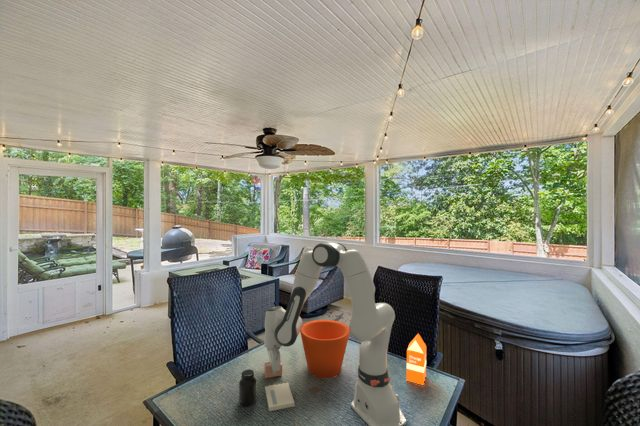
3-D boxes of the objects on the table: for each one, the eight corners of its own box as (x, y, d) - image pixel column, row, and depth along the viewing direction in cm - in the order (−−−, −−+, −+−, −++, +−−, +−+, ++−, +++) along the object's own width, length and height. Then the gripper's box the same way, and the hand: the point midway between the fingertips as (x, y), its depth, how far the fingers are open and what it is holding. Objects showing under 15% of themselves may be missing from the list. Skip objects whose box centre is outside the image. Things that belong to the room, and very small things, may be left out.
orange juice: (406, 381, 128) (406, 338, 128) (409, 372, 135) (409, 331, 136) (424, 386, 124) (424, 341, 124) (426, 376, 132) (426, 334, 132)
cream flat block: (294, 406, 110) (294, 402, 110) (269, 411, 107) (269, 407, 107) (287, 385, 123) (287, 381, 123) (265, 389, 120) (265, 385, 120)
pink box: (282, 375, 131) (282, 364, 131) (265, 378, 128) (265, 367, 128) (280, 370, 135) (281, 360, 135) (264, 373, 132) (264, 362, 132)
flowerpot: (349, 357, 148) (349, 320, 148) (349, 386, 123) (350, 342, 124) (303, 354, 151) (304, 318, 151) (294, 382, 126) (295, 338, 126)
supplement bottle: (249, 394, 117) (249, 366, 117) (259, 401, 113) (260, 371, 113) (235, 402, 112) (235, 372, 112) (245, 410, 107) (245, 379, 107)
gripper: (284, 350, 123) (283, 381, 123) (277, 331, 142) (276, 358, 142) (269, 352, 121) (269, 384, 121) (264, 333, 140) (264, 360, 140)
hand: (273, 370), depth 132 cm, fingers closed on pink box, 4 cm apart
